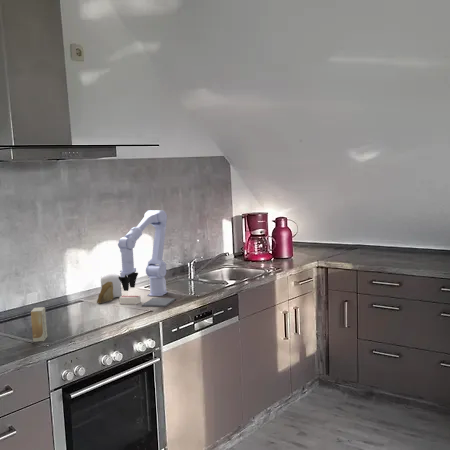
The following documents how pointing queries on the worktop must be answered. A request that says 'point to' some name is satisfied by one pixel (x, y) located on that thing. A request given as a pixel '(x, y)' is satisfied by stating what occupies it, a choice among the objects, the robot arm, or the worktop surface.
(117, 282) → the photo printer
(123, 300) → the card deck
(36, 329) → the skincare box
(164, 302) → the mat
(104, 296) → the rock
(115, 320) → the worktop surface
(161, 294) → the robot arm
